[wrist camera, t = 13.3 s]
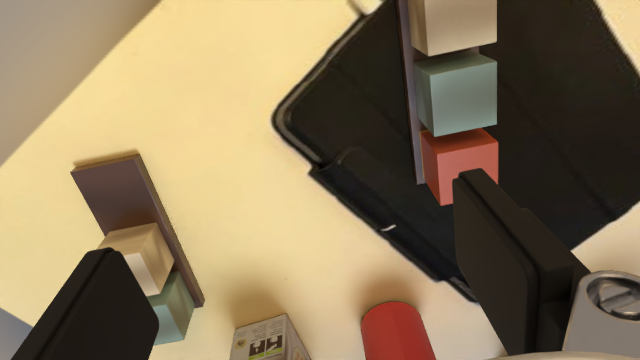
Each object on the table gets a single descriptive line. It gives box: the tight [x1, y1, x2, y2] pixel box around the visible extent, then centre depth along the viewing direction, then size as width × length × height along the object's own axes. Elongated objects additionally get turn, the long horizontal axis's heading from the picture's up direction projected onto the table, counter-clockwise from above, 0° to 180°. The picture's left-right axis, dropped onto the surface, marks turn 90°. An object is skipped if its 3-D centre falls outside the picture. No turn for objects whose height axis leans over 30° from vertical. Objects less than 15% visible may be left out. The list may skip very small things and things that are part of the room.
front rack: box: [395, 0, 497, 184], centre depth 29 cm, size 17×6×5 cm, turn 12°
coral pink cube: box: [420, 128, 498, 206], centre depth 32 cm, size 4×4×4 cm
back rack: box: [70, 154, 205, 346], centre depth 35 cm, size 17×6×5 cm, turn 12°
